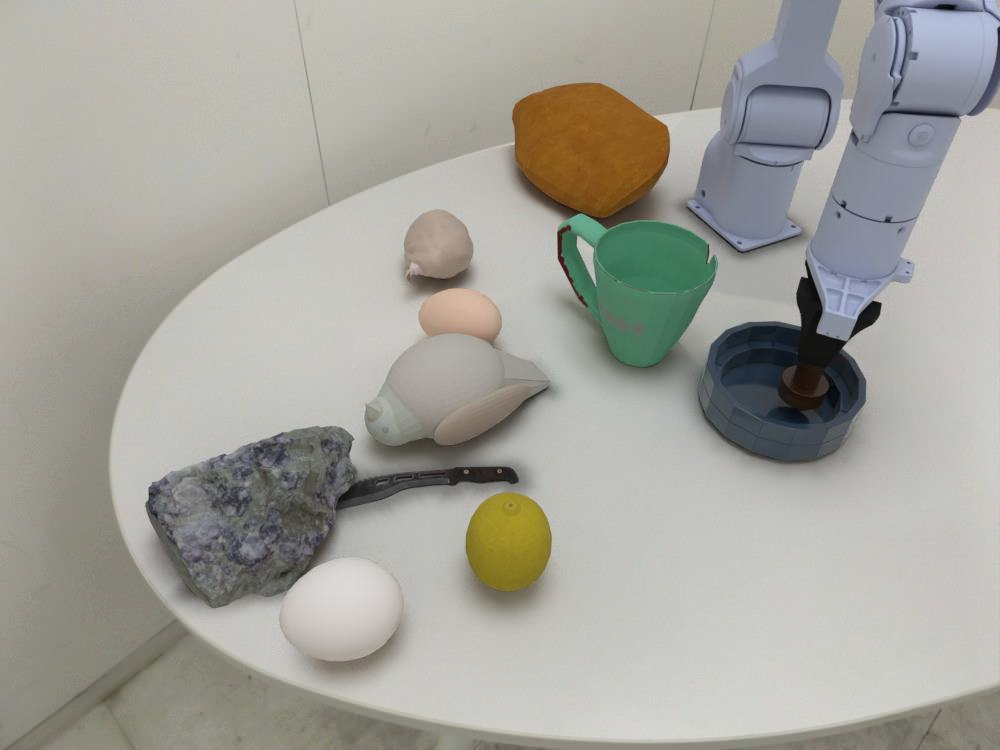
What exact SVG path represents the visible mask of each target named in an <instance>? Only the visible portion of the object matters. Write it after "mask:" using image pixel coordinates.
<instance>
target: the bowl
mask: <svg viewBox="0 0 1000 750" xmlns="http://www.w3.org/2000/svg"><path fill="white" fill-rule="evenodd" d="M800 332H801V325H796V324H792V323H788V322H782V321H778V320H769V321H765V320H764V321H748V322H744V323H742V324H739V325H735V326H733V327H730V328H727V329H725V330H724V331H723V332H722V333H721V334H720V335H719V336H718V337H717V338H716V339H715V340H714V341H713V342H712V343H711V344H710V346H709V350H708V353H707V357H706V360H705V364H704V368H703V371H702V374H701V379H700V385H699V387H698V397H699V400H700V403H701V406H702V408H703V411H704V414H705V416H706V418H707V419H708V420H709V421H710V422H711V423H712V424H713V425H714V426H715V428H717V430H718V431H719V432H720V434H722V436H724V437H725V438H727V439H728V440H730V441H732V442H734V443H735V444H737V445H739V446H741V447H742V448H744V449H745V450H747V451H749V452H751V453H754V454H757V455H761V456H766V457H770V458H773V459H776V460H777V459H778V460H781V461H801V460H816V459H818V458H820V457H823V456H825V455H828V454H830V453H832V452H834V451H837V450H839V449H840V448H841V446H842V445H843V444H844V442H845V441H846V440H847V438H848V437H849V436H850V435H851V433H852V431H853V429H854V428H855V425H856V423H857V421H858V419H859V417H860V415H861V414H862V411H863V409H864V407H865V405H866V403H867V379H866V377H865V375H864V373H863V371H862V369H861V368H860V367H859V364H858V363H857V360H856V359H855V358H854V357H853V356H851V354H849V353H848V352H847V351H846V350H845V349H843V348H842V349H841V351H840V352H839V353H838V355H837V356H836V357H835V358H834V360H833V361H832V362H831V363H830V364H829V365H828V366H827V367H826V368H825V370H824V372H823V375H824V376H825V378H826V379H827V381H828V384H829V389H828V391H827V394H826V396H825V398H824V401H823V403H822V404H821V405H820V406H819V407H818V408H816V409H812V410H802V409H797V408H794V407H792V406H790V405H788V404H787V403H785V402H784V401H783V400H782V399H781V398H780V396H779V394H778V391H777V388H778V385H779V382H780V379H781V377H782V374H783V372H784V371H785V370H786V369H787V368H789V367H792V366H797V364H798V346H799V339H800Z"/></svg>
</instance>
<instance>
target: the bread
mask: <svg viewBox="0 0 1000 750" xmlns="http://www.w3.org/2000/svg"><path fill="white" fill-rule="evenodd" d="M511 120H512V124H513V128H514V159H515V162H516V164H517V166H518V167H519V169H520V170H521V171H522V172H523V174H524V175H525V177H526V178H527V179H528V180H529V181H530V182H531V184H533V185H534V186H535V187H536V188H537V189H538V190H540V191H541V192H543V194H545V195H547V196H548V197H549V198H550V199H553V201H556V202H558V203H560V204H562V205H563V206H566V207H569V208H571V209H573V210H575V211H578V212H580V213H581V214H584V215H587V216H590V217H594V218H602V219H603V218H604V219H605V218H607V217H610V216H613V215H614V214H616V213H618V212H619V211H620V210H622V209H624V208H625V207H628V206H631V205H632V204H634V203H636V202H638V201H640V200H641V199H642V198H644V197H646V196H647V195H648V194H649V193H650V192H651V191H652V190H653V188H655V186H656V184H658V181H660V179H661V177H662V175H663V174H664V172H665V170H666V169H667V167H668V164H669V158H670V154H671V153H670V152H671V135H670V130H669V127H668V125H667V124H665V123H664V122H662V121H661V120H659V119H657V118H656V117H655V116H653V115H651V114H650V113H649V112H647V111H645V110H644V109H643V108H641V107H640V106H638V104H636V103H634V102H633V101H632V100H630V99H629V98H627V97H626V96H625V95H623V94H621V93H620V92H619V91H617V90H616V89H614V88H612V87H610V86H607V85H606V84H603V83H601V82H576V83H568V84H562V85H556V86H551V87H549V88H545V89H543V90H540V91H538V92H533V93H530V94H529V95H527V96H524V97H523V98H521V99H519V100H518V101H517V102H516V103H515V104H514V106H513V109H512V115H511Z"/></svg>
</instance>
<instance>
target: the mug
mask: <svg viewBox="0 0 1000 750" xmlns="http://www.w3.org/2000/svg"><path fill="white" fill-rule="evenodd" d="M578 237H579V238H581V239H582V240H583V241H585V242H586V243H587V244H588V245H589V246H590V247H591V248H593V252H592V261H593V270H594V278H595V283H594V280H593V278H592V276H591V273H590V272H589V270H588V267H587V265H586V262H585V261H584V259H583V257H582V255H581V253H580V252H581V251H579V248H578ZM556 242H557V243H556V244H557V246H556V247H557V249H556V250H557V261H558V263H559V265H560V266H561V268H562V270H563V272H564V275H565V276H566V279H567V281H568V282H569V285H570V286H571V289H572V290H573V292H574V294H575V296H576V298H577V299H578V301H579V302H580V303H581V304H582V305H583V306H584V307H585V308H586V310H587V311H588V312H589V313H590V314H591V315H592V316H593V317H594V318H595V320H596V321H597V322H598V323H599V324H600V325H601V326H602V329H603V332H604V335H605V338H606V341H607V344H608V347H609V350H610V352H611V354H612V356H614V358H616V359H617V361H619V362H621V363H623V364H625V365H627V366H631V367H634V368H635V367H636V368H647V367H651V366H652V367H653V366H655V365H656V364H659V363H660V361H662V360H663V358H665V356H666V355H667V354H668V353H669V352H670V351H671V349H673V348H674V346H675V345H676V344H677V343H678V341H679V340H680V338H681V337H682V336H683V334H684V333H685V332H686V330H687V329H688V327H689V326H690V325H691V323H692V322H693V320H694V318H695V316H696V314H697V312H698V310H699V308H700V306H701V304H702V302H703V301H704V299H705V298H706V296H707V295H708V293H709V292H710V291H711V288H712V286H713V285H714V282H715V279H716V277H717V272H718V267H719V260H718V258H717V256H716V254H713V255H712V257H711V258H710V260H709V257H710V244H709V243H708V241H707V240H706V239H704V238H703V237H702V236H700V235H699V234H697V233H695V232H694V231H692V230H691V229H688V228H685V227H683V226H680V225H678V224H674V223H670V222H666V221H661V220H647V219H646V220H645V219H644V220H642V219H641V220H639V219H638V220H633V221H626V222H621V223H618V224H616V225H614V226H611V227H609V228H608V229H607V228H606V227H605V226H603V225H602V224H601V223H600V222H598V221H597V220H595V219H593V218H591V216H589V215H587V214H585V213H577V214H576V215H574V216H572V217H570V218H567V219H565V221H563V222H561V223H560V224H559V226H558V227H557V230H556Z"/></svg>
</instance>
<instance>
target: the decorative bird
mask: <svg viewBox="0 0 1000 750" xmlns="http://www.w3.org/2000/svg"><path fill="white" fill-rule="evenodd" d="M550 384H551V380H550V379H549V377H547V375H545V373H543V371H542V370H541V369H539V367H538V366H537V365H536V364H535V363H534V362H533V361H530V360H527V359H524V358H522V357H518V356H515V355H512V354H509V353H508V352H504V351H502V350H500V349H496V348H494V347H493V344H492V342H491V343H489V342H488V341H486V340H483V339H480V338H477V337H474V336H470V335H466V334H459V333H449V334H440V335H436V336H432V337H429V336H428V337H427V338H424V339H421V340H420V341H418V342H416V343H414V344H412V345H411V346H409V347H408V348H407V349H405V350H404V351H403V352H402V353H401V354H400V355H399V356H398V357H397V358H396V360H395V361H394V362H393V363H392V365H391V366H390V369H389V370H388V372H387V375H386V378H385V380H384V382H383V383H382V386H381V388H380V390H379V391H378V393H377V396H376V397H375V398H373V399H372V400H371V401H370V402H365V411H364V418H363V419H364V425H365V428H366V430H367V432H368V433H369V435H370V436H371V437H372V438H373V439H374V440H376V441H377V442H379V443H381V444H383V445H385V446H390V447H391V446H392V447H394V446H395V447H397V446H403V445H404V444H407V443H408V442H413V441H417V440H418V441H419V440H422V439H433V440H434V442H435V443H436V444H437V445H440V446H454V445H458V444H461V443H464V442H467V441H469V440H471V439H473V438H475V437H477V436H479V435H481V434H483V433H485V432H486V431H488V430H489V429H491V428H493V427H495V426H496V425H498V424H499V423H501V422H502V421H503V420H505V419H506V418H507V417H509V416H510V415H511V414H512V413H514V411H515V410H517V409H518V408H519V407H520V406H521V405H522V404H523V403H524V402H525V401H526V400H527V399H529V398H531V397H533V396H534V395H536V394H538V393H540V392H542V391H543V390H545V389H547V388H548V387H549V385H550Z"/></svg>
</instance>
